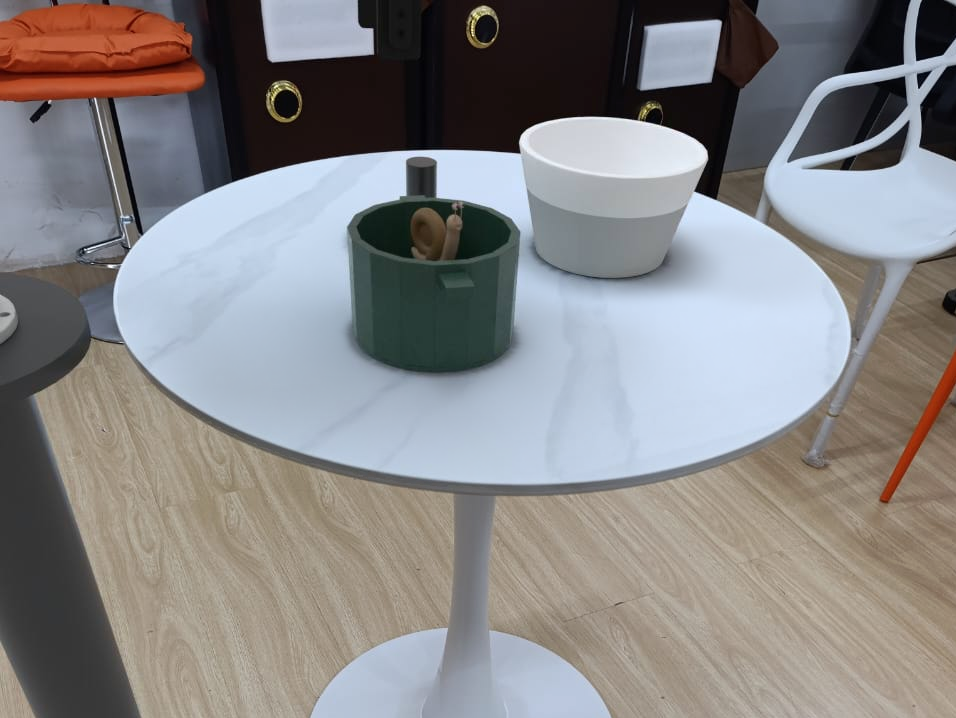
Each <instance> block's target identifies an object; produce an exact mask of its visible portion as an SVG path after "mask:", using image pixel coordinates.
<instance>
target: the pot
mask: <svg viewBox="0 0 956 718" xmlns="http://www.w3.org/2000/svg"><path fill="white" fill-rule="evenodd" d="M461 201H462V202H463V203H464V208H462V216H461V209H460V208H459V207H458V209H457V210H456V215H458V216H459V217H460V216H461V220H462V228H461V230H460V234H459V244H458V248H457V253H456V256H455V259H454V260H446V261H429V260H419V259H414V257H413V254H412V251H411V249H412V247H415V248H416V246H415V244H414V242H413V239H412V235H411V220H412V217H413V215H414V213H415V212H416V211H417V210H419V209H421V208H430V209H432V210H434V211H435V212H436V213H438V214H439V216H440V217H441V218H442V220H443V222H444V224H445V227H446V230H447V225H446V222H447V219H448V217H449V216H451V215H455V210H453V209H452V205H453V204H454V203H457V204H458V203H459V202H461ZM521 233H522V232H521V230H520V229H519V228H518V226H517V224H516V223H515V222H514V221H513V218H511V217H510V216H508V215H505V214H504V213H502V212H500V211H498V210H497V209H494V208H493V207H489V206H485V205H482V204H477V203H474V202H470V201H466V200H461V199H451V198H450V199H449V198H443V197H441V198H440V197H437V198H426V197H425V196H424V195H417V196H406V195H399V199H396V200H391V201H386V202H381V203H377V204H373V205H371V206H370V207H367V208H365V209H363V210H361V211H359V212H357V213H356V214H354V216H353V217H352V219H351V220H350V221H349V223H348V225H346V235H347V236H346V238H347V253H348V271H349V288H350V289H349V290H350V304H351V305H350V306H351V324H352V329H353V335H354V339H355V342H356V344H357V346H358V347H359V348H360V349H361V350H362V351H363V352H364V353H365V354H366V355H367V356H369V357H371V358H372V359H375V360H376V361H378V362H381V363H382V364H385V365H388V366H391V367H394V368H397V369H403V370H406V371H407V370H408V371H413V372H422V373H454V372H461V371H467V370H472V369H475V368H478V367H482V366H485V365H487V364H489V363H491V362H494V361H495V360H497V359H498V358H500V357H502V356H503V355H504V354H505V353H506V352H507V350H508V349H509V347H510V345H511V343H512V340H513V339H512V338H513V332H514V328H515V327H514V325H515V315H516V298H517V287H518V285H517V284H518V272H519V260H520V259H519V258H520V244H521Z"/></svg>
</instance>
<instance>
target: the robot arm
mask: <svg viewBox="0 0 956 718" xmlns="http://www.w3.org/2000/svg"><path fill="white" fill-rule="evenodd" d="M422 3H423V1H422V0H357V24H358V25H359V27H360V28H362V29H373V30H374V29H376V53H377V56H378V57H379V59H381V60H388V61H389V60H390V61H392V60H395V61H396V60H397V61H416V60H419V59H420V57H421V54H422ZM17 325H18V316H17V313H16V311H15V308H14V305H13V304H12V303H11V302H10V301H9V299H7V298H5V297H4V296H2V295H0V344H2V343H3V342H4V341H6V340H7V339H8V338H9V337H10V336H11V335H12V334H13V332H14V331H15V330H16V328H17Z"/></svg>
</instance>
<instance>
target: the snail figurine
mask: <svg viewBox="0 0 956 718" xmlns="http://www.w3.org/2000/svg"><path fill="white" fill-rule="evenodd" d="M462 201H463V200H462ZM462 201H461V202H459V203H458V204H457V203H454V204H453V205H452V209H453V210H455V215H451V216H449V217H448V219H447V222H446V225H447V230H446V227H445V224H444V222H443V220H442V218H441V217H440V216H439V214H438V213H436V212H435V211H434V210H432V209H430V208H421V209H419V210H417V211H416V212H415V213H414V215H413V217H412V220H411V235H412V239H413V242H414V244H415V246H416V248H415V247H412V249H411V251H412V254H413V257H414V259H419V260H429V261H446V260H454V259H455V256H456V253H457V248H458V244H459V234H460V230H461V228H462V220H461V216H462V208H464V203H463V202H462ZM458 207H459V208H460V209H461V216H460V217H459V216H458V215H456V210H457V209H458Z"/></svg>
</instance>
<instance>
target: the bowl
mask: <svg viewBox="0 0 956 718" xmlns="http://www.w3.org/2000/svg"><path fill="white" fill-rule="evenodd" d="M518 145H519V151H520V158H521V164H522V171H523V176H524V183H525V187H526V188H525V189H526V194H527V200H528V207H529V214H530V220H531V226H532V234H533V240H534V245H535V250H536V253H537V254H538V255H539V257H540V258H541V259H542V260H543V261H545V262H546V263H548V264H550V265H551V266H553V267H555V268H558V269H560V270H563V271H566V272H569V273H572V274H576V275H580V276H587V277H593V278H603V279H620V278H630V277H631V278H632V277H635V276H636V277H637V276H641V275H644V274H648V273H650V272H652V271H654V270H656V269H658V268H659V267H660V266H661V265H662V263H663V261H664V260H665V257H666V255H667V253H668V250H669V248H670V245H671V244H672V242H673V239H674V236H675V235H676V233H677V230H678V228H679V225H680V223H681V221H682V219H683V216H684V214H685V211H687V207H688V205H689V203H690V202H691V199H692V197H693V195H694V193H695V190H696V188H697V185H698V183H699V181H700V178H701V176H702V174H703V172H704V169H705V167H706V166H707V163H708V161H709V155H708V150H707V149H706V147H705V146H704V144H702V143H700V141H698V140H697V139H696V138H694V137H691V136H690V135H688V134H686V133H684V132H681V131H678V130H676V129H673V128H671V127H667V126H664V125H661V124H660V125H659V124H656V123H653V122H652V123H651V122H647V121H642V120H635V119H628V118H621V117H607V116H583V117H582V116H577V117H566V118H565V117H564V118H558V119H553V120H547V121H544V122H540V123H537V124H535V125H533V126H531V127H528V128H527V129H525V130H524V131H523V133H522V134H521V135H520V138H519V141H518Z"/></svg>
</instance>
